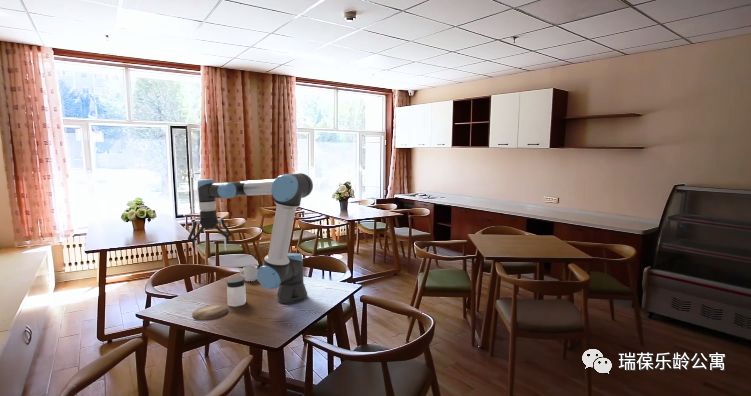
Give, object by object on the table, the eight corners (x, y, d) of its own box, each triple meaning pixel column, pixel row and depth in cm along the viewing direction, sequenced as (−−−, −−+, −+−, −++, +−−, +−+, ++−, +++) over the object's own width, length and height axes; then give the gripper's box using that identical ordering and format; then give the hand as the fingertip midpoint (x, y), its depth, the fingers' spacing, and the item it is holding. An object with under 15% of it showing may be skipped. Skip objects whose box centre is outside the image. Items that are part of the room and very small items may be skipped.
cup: (236, 282, 224) (236, 268, 224) (243, 278, 232) (242, 265, 231) (254, 282, 223) (253, 269, 222) (260, 278, 230) (259, 265, 230)
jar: (223, 305, 188) (222, 281, 187) (235, 299, 196) (234, 276, 195) (238, 307, 185) (237, 283, 184) (250, 301, 192) (248, 278, 191)
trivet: (234, 309, 183) (234, 306, 183) (210, 322, 169) (210, 319, 169) (210, 305, 188) (210, 303, 188) (185, 317, 175) (184, 314, 174)
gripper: (233, 207, 202) (236, 247, 204) (180, 211, 191) (183, 254, 193) (235, 208, 195) (238, 249, 197) (180, 213, 184) (183, 257, 186)
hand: (211, 252), depth 195 cm, fingers open, 13 cm apart
